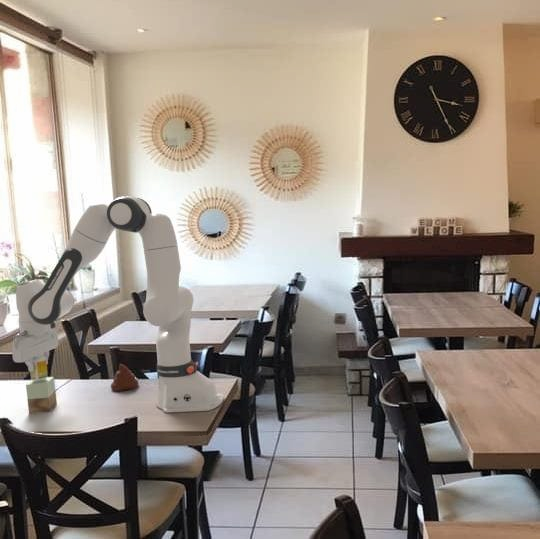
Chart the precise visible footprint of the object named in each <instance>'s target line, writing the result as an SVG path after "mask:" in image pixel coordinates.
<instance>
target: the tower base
mask: <svg viewBox="0 0 540 539" xmlns="http://www.w3.org/2000/svg"><path fill="white" fill-rule="evenodd" d="M57 404H58V401H57V393H56V390H55V391H54V393H53V394H52V395H51V396H50V397H49V398H36V399H28V398H27V407H28V414H36V413H37V414H38V413H50V412H51V411H52V410H53V409H54V408H55V407H56V406H57Z"/></svg>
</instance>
